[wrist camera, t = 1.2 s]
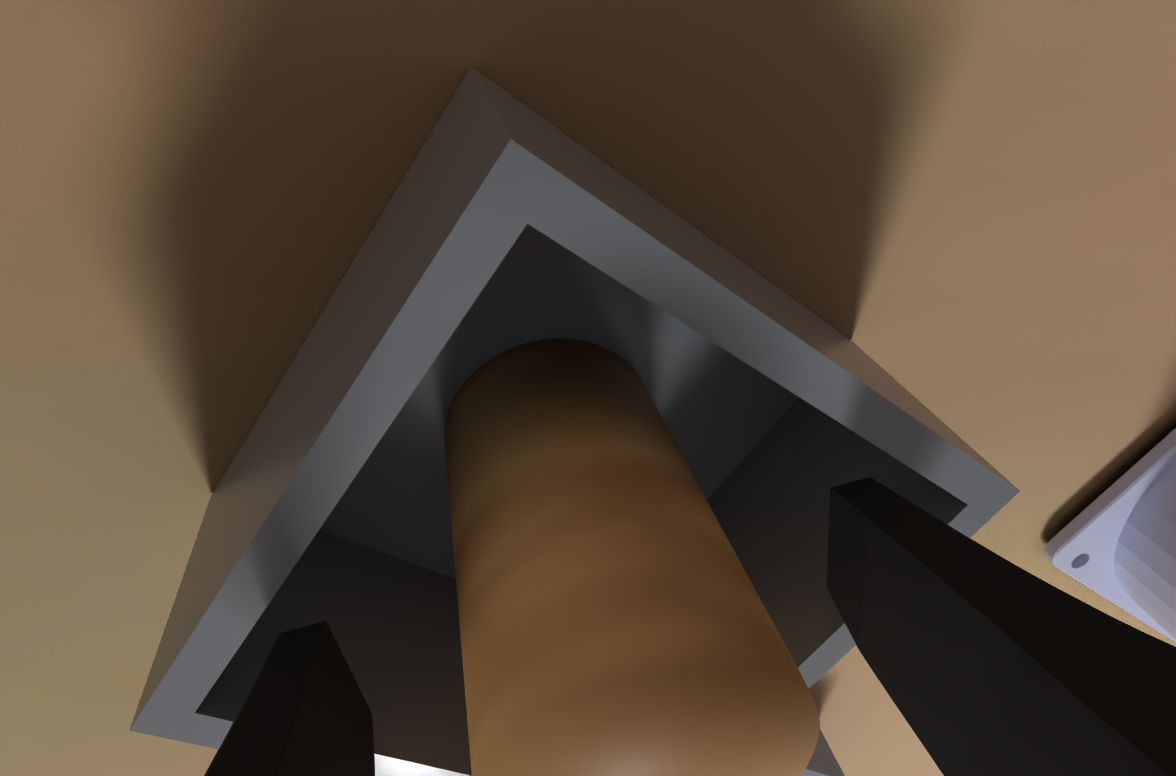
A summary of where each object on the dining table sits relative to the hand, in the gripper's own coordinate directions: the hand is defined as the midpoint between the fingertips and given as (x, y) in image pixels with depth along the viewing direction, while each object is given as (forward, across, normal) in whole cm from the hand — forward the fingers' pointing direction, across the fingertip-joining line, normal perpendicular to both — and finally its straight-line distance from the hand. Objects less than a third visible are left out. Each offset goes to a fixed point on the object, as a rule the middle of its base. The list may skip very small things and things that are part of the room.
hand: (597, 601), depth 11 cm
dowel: (+4, 0, 0) cm, 4 cm away
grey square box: (+5, 0, 0) cm, 5 cm away
